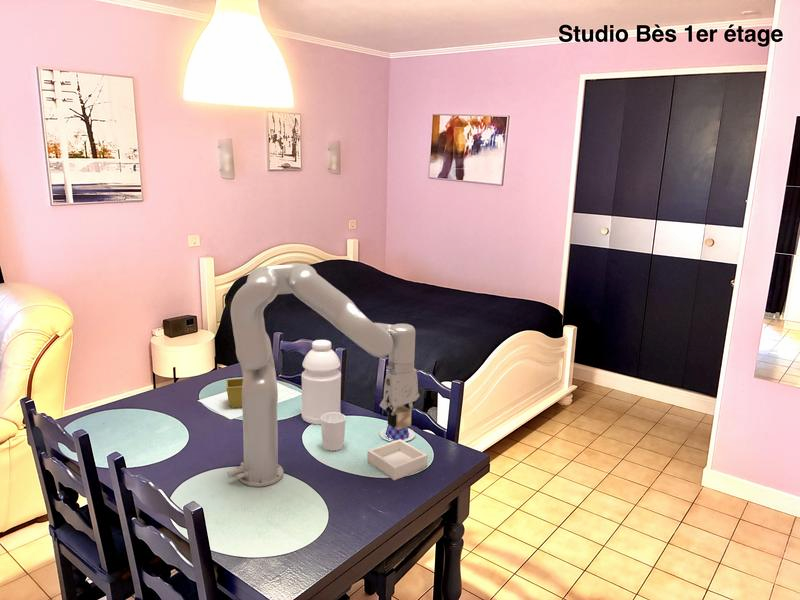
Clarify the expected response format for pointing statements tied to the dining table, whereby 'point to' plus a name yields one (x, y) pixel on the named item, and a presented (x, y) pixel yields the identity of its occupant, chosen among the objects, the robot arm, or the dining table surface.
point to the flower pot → (234, 392)
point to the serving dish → (397, 459)
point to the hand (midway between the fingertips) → (399, 422)
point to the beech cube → (402, 417)
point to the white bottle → (320, 382)
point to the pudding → (397, 433)
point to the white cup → (333, 430)
